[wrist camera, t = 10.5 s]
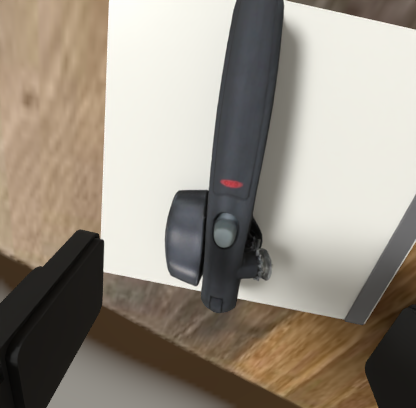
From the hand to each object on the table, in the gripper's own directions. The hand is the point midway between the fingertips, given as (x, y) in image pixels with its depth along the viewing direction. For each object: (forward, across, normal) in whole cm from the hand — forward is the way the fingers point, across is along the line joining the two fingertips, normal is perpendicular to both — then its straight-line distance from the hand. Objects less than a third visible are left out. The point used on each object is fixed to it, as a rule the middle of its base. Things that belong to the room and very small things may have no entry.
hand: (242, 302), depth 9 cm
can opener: (+11, +1, -1) cm, 11 cm away
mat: (+12, -2, 0) cm, 12 cm away
